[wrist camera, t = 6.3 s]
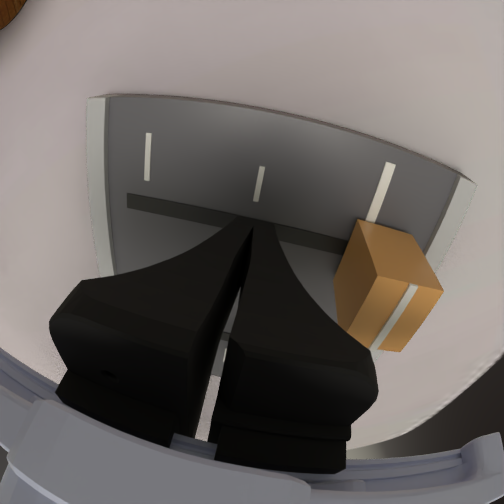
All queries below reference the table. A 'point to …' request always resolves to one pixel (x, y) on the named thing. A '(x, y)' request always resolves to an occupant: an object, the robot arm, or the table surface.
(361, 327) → the block
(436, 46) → the table surface
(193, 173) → the fader board
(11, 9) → the disposable coffee cup
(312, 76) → the table surface
